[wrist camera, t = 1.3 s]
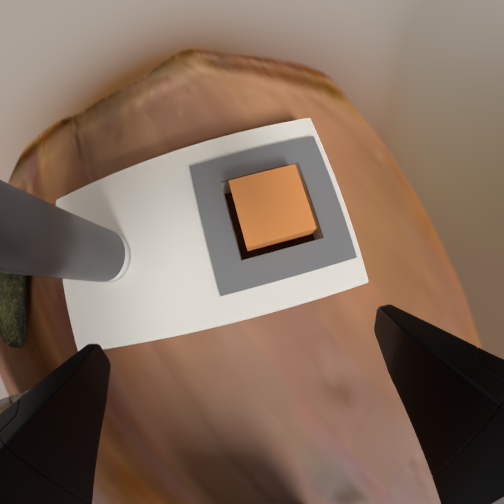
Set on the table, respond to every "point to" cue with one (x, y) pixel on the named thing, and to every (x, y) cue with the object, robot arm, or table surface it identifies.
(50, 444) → the robot arm
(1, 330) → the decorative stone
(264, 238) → the button
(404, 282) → the table surface
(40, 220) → the grey cylinder
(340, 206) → the panel
